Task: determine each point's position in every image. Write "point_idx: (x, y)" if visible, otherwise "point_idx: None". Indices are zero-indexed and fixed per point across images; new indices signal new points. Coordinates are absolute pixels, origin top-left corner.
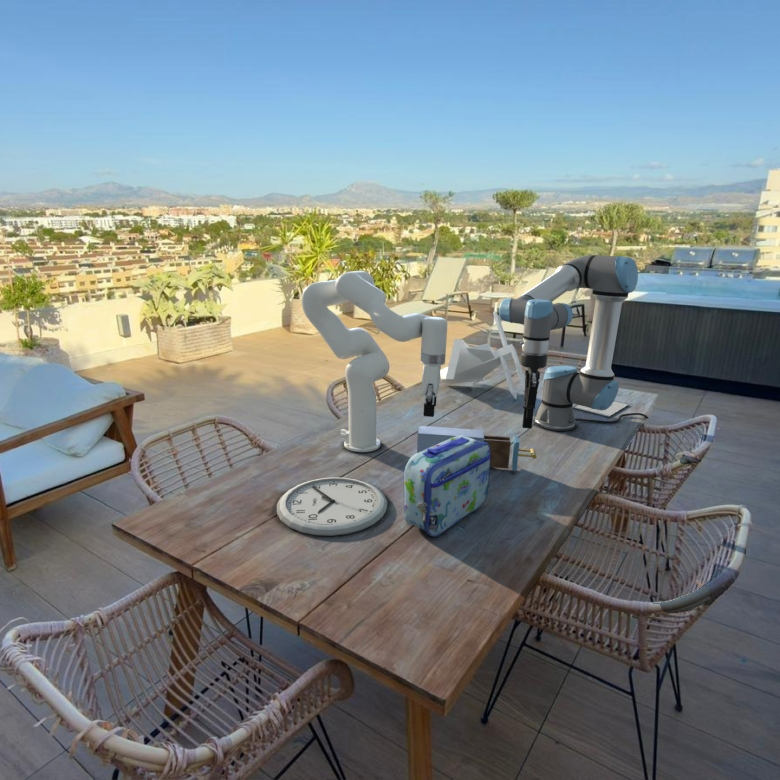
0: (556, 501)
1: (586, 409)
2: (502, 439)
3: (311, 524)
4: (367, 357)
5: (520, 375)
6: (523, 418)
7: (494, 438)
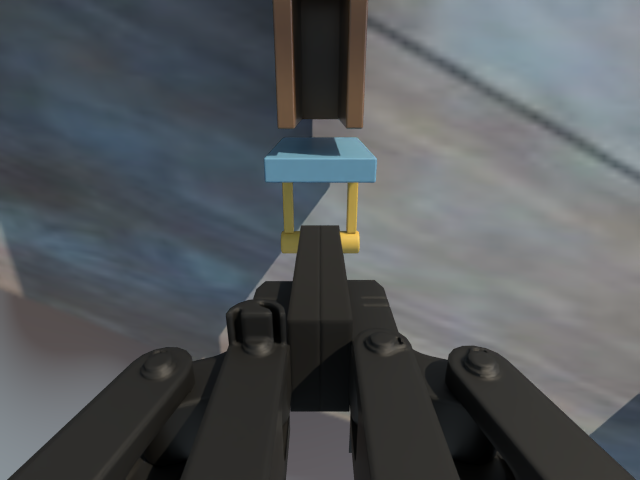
0: (103, 268)
1: None
2: (346, 76)
3: None
4: None
5: None
6: (304, 256)
7: (348, 13)
